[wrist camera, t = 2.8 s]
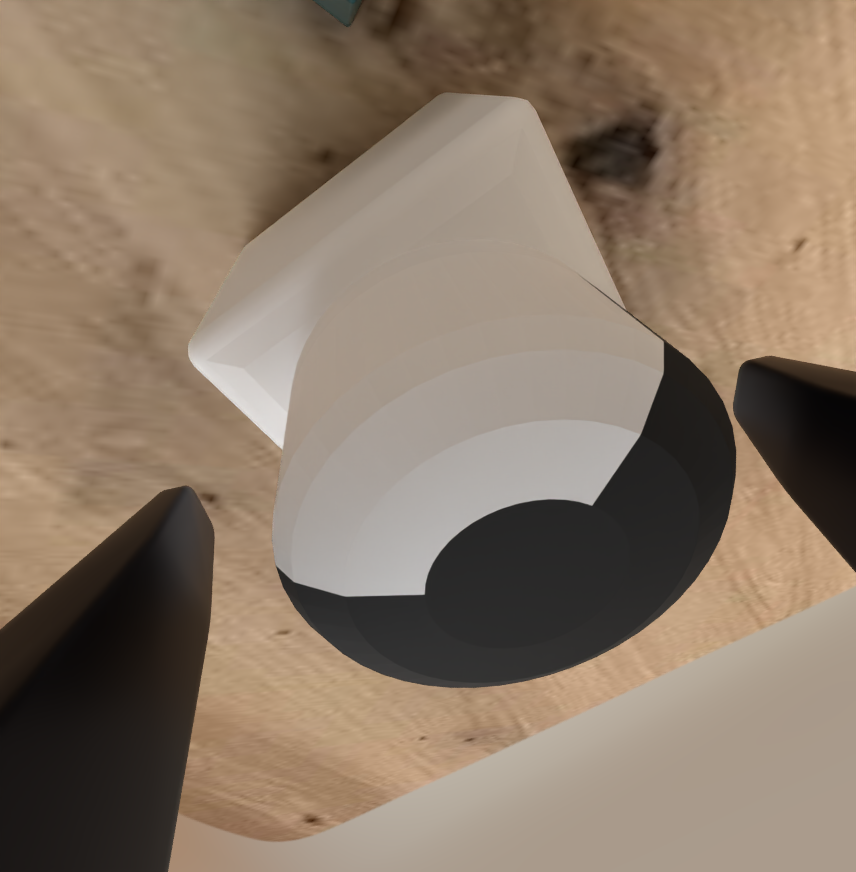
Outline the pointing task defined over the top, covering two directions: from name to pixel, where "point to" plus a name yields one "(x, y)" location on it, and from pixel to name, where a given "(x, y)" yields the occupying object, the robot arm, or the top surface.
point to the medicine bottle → (466, 410)
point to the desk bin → (341, 9)
